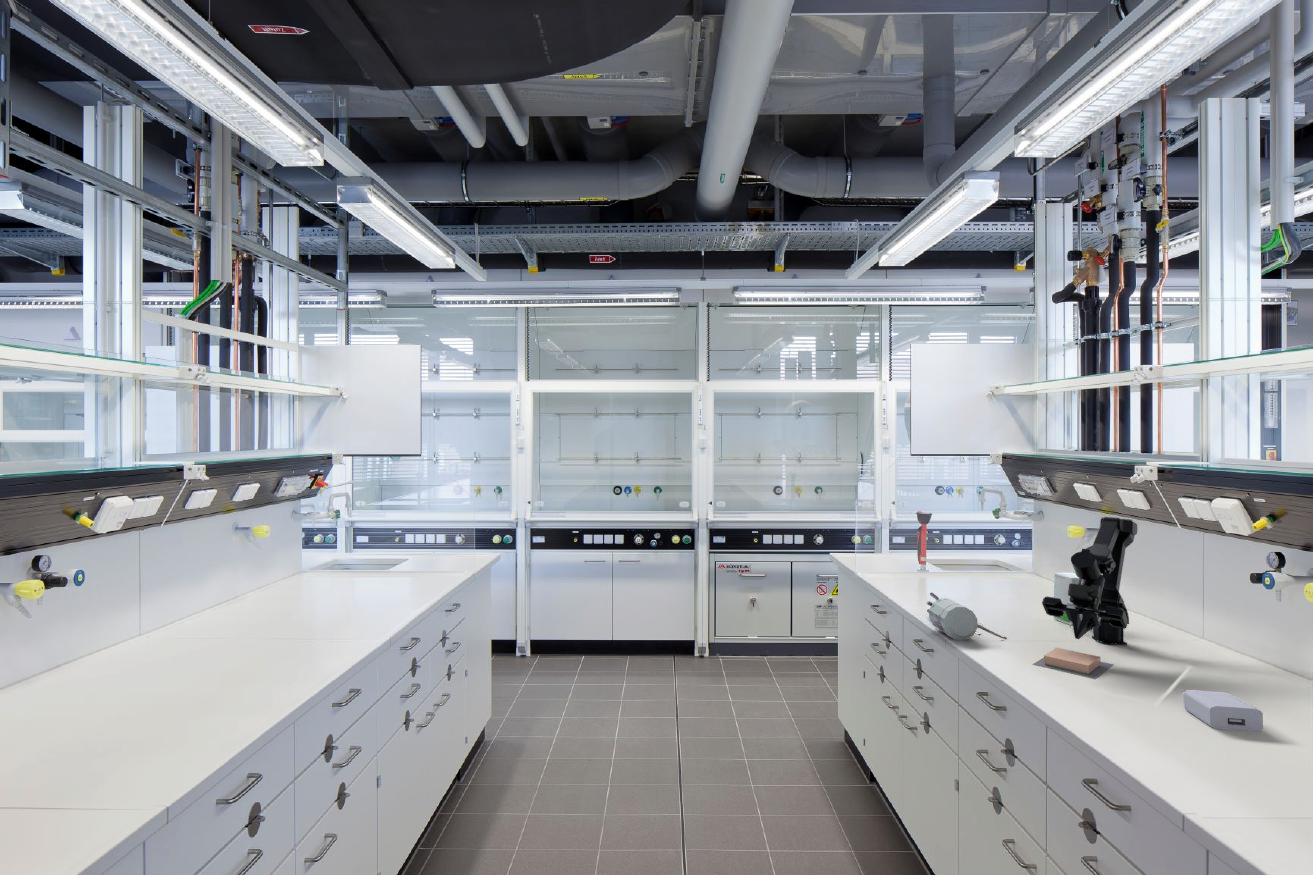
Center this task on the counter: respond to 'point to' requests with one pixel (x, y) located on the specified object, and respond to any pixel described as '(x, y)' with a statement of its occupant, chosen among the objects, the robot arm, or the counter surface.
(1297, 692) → the counter surface
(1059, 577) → the skincare box
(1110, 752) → the counter surface
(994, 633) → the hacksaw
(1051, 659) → the tile
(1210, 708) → the charger
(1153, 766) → the counter surface
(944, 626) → the device
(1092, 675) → the mat
